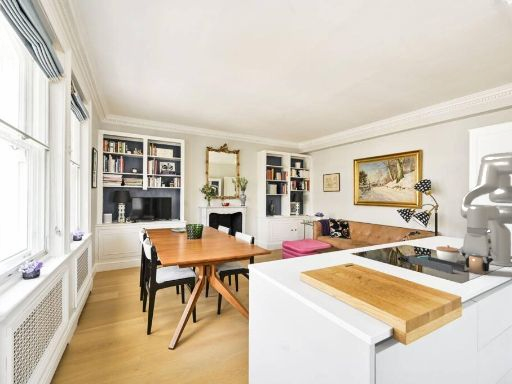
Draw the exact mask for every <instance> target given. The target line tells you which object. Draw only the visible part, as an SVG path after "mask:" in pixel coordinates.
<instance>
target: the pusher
mask: <svg viewBox="0 0 512 384" xmlns="http://www.w3.org/2000/svg"><path fill="white" fill-rule="evenodd" d="M417 258H421V259H425V260H429V255H425V256H420V257H417Z"/></svg>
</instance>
